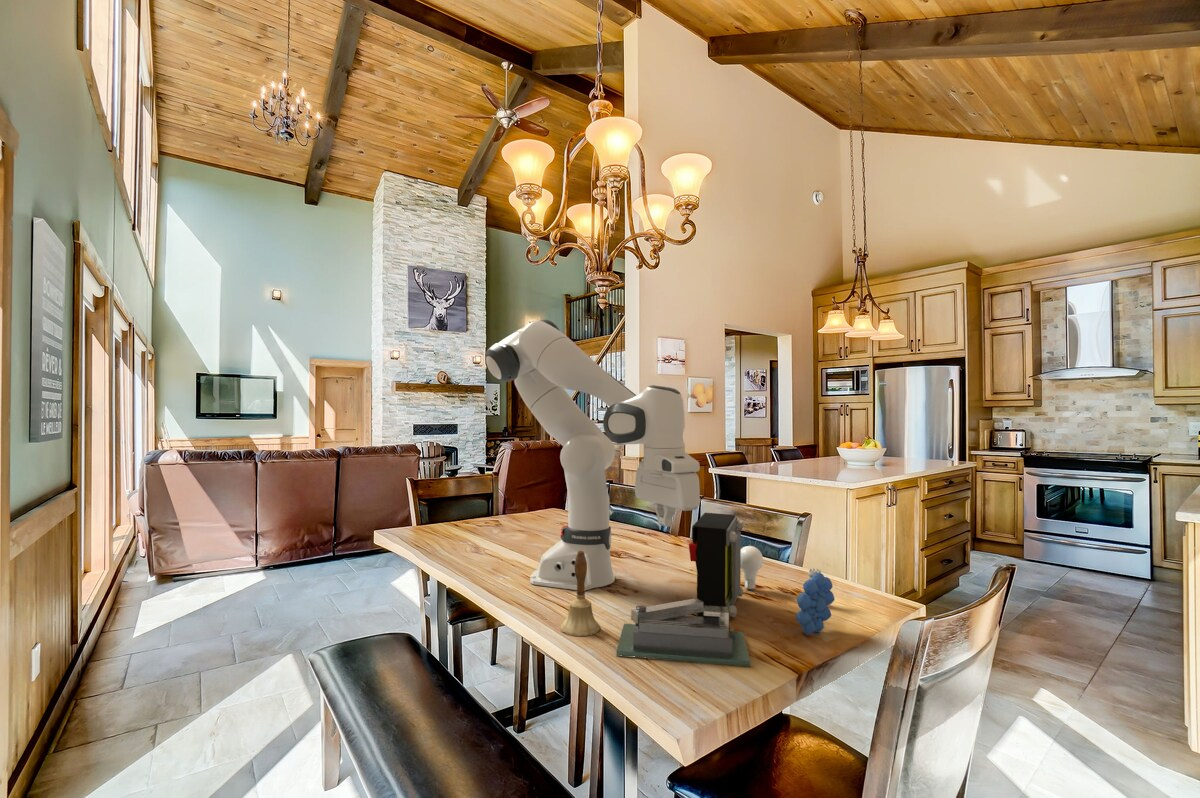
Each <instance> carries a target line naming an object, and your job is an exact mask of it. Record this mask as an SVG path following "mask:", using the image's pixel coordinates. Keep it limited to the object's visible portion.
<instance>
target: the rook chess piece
mask: <svg viewBox="0 0 1200 798" xmlns="http://www.w3.org/2000/svg"><path fill="white" fill-rule="evenodd" d="M816 573H821V570H820V569H818V568H817V569H815V568H809V569H808V572H807V575H808V576H809V578H808V580H809V579H811V578H812V577H813V576H814V575H815V574H816ZM821 574H822V573H821Z"/></svg>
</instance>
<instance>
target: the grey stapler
mask: <svg viewBox="0 0 1200 798" xmlns="http://www.w3.org/2000/svg"><path fill="white" fill-rule="evenodd" d="M703 612H704V616H717V617H719V618H710V617H697V615H696V616H691V615H684V616H679V617H674V618H668V619H663V620H658V621H656V620H642V619H640V621H639V624H636V623H623V626H622V629H621V633H620V637H619V641H618V644H617V647H616V652H615V653H616V654H615V655H622V656H635V657H646V658H655V659H654V660H658V659H661V661H674V662H685V663H686V662H687V663H696V664H697V663H698V664H710V665H722V666H732V667H733V666H735V667H736V666H737V667H746V668H747V667H748V668H749V667H750V668H751V659H750V654H749V651H748V648H747V644H746V639H745V636H744V632H743V631H735V630H734V631H733V630H731V626H730V617H729V612H728V607H720V606H705V605H703ZM646 658H645V659H646Z"/></svg>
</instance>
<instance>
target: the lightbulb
mask: <svg viewBox="0 0 1200 798" xmlns="http://www.w3.org/2000/svg"><path fill="white" fill-rule="evenodd" d="M763 563H764V557H763V554H762V552H761V551H760V549H758V548H757V547H755V546H754V545H747V546H742V547H741V571H742V575H743V577H744V588H745V589H747V590H748V591H752V590H754V589H755V588H756V578H757V576H758V573H759V570H760V569H761V567H762V566H763Z"/></svg>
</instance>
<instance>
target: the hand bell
mask: <svg viewBox="0 0 1200 798" xmlns="http://www.w3.org/2000/svg"><path fill="white" fill-rule="evenodd" d="M586 573H587V562H586V558H585V555H584V551H578V553H577V557H576V560H575V575H576V579H577V590H576V598H575V599H573V600H571V601H570V603H569V608H568V613H567V616H566V619H565V620H564V621H563V622H562V623H561V624H560V626H559V627H560V628H561V629H560V631H561V630H562V631H563V632H565V633H568V634H571V635H575V636H574V637H588V636H587V635H589V636H592V635H591V634H593V635H595V634H597V633H598V632H599V631H600V630H601V625H600V623H599V622H597V621H596V619H595V616H594V615H593V614H594V613H593V609H592V607H593V605H592V603H591V601H590V600H589V599H587V598H586V594H585V593H586V592H585V591H586V590H585V587H584V582H585V577H586ZM562 631H561V632H562ZM563 632H562V633H563ZM596 632H597V633H596ZM565 633H564V634H565ZM594 633H595V634H594ZM568 634H567V635H568ZM571 635H570V636H571Z"/></svg>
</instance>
